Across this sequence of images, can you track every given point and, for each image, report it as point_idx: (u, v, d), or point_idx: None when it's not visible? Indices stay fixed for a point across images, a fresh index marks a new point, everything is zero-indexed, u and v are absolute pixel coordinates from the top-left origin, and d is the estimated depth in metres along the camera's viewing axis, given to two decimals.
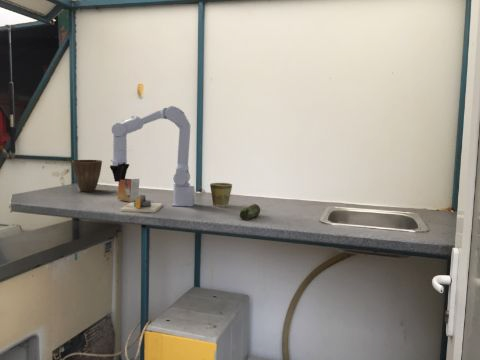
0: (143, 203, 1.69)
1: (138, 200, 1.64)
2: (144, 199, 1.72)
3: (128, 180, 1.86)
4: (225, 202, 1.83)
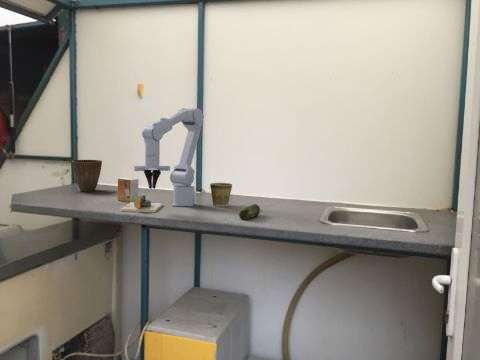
0: (143, 203, 1.69)
1: (138, 200, 1.64)
2: (144, 199, 1.72)
3: (127, 181, 1.85)
4: (225, 202, 1.83)
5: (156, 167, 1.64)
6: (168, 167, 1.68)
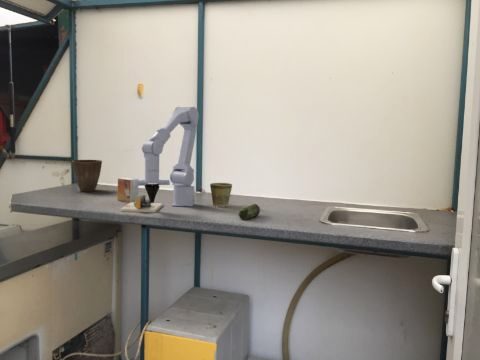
0: (143, 203, 1.69)
1: (138, 200, 1.64)
2: (144, 199, 1.72)
3: (127, 181, 1.85)
4: (225, 202, 1.83)
5: (156, 182, 1.65)
6: (168, 181, 1.69)
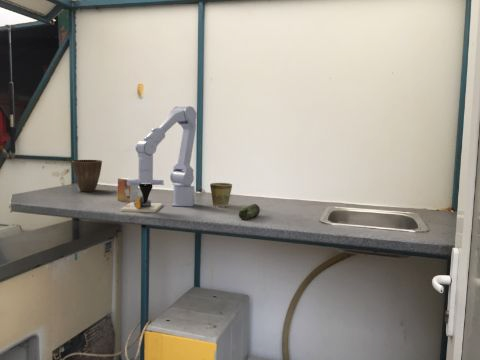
0: (143, 203, 1.69)
1: (138, 200, 1.64)
2: None
3: None
4: (225, 202, 1.83)
5: (148, 181, 1.65)
6: (161, 181, 1.68)
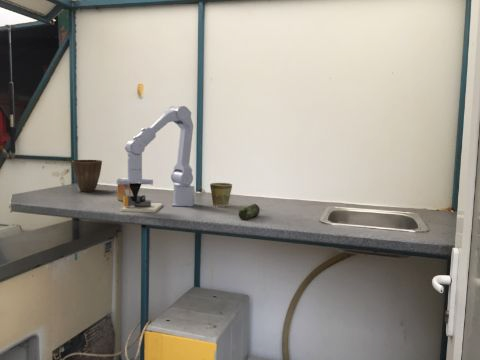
0: (135, 203, 1.70)
1: (124, 198, 1.68)
2: (141, 199, 1.71)
3: None
4: (225, 202, 1.83)
5: (136, 181, 1.65)
6: (150, 181, 1.68)
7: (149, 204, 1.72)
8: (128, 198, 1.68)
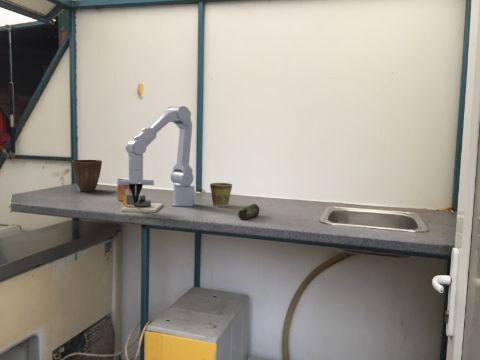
0: None
1: (123, 197, 1.71)
2: (140, 199, 1.71)
3: None
4: (225, 202, 1.83)
5: (138, 181, 1.64)
6: (152, 181, 1.67)
7: (147, 204, 1.70)
8: (127, 197, 1.70)
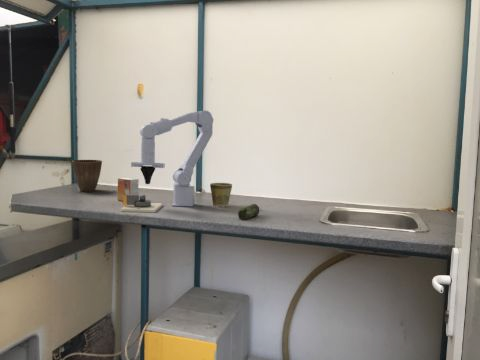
0: (134, 202, 1.71)
1: (123, 197, 1.71)
2: (140, 199, 1.71)
3: (127, 181, 1.85)
4: (225, 202, 1.83)
5: (147, 164, 1.73)
6: (161, 164, 1.74)
7: (147, 204, 1.70)
8: (127, 197, 1.70)
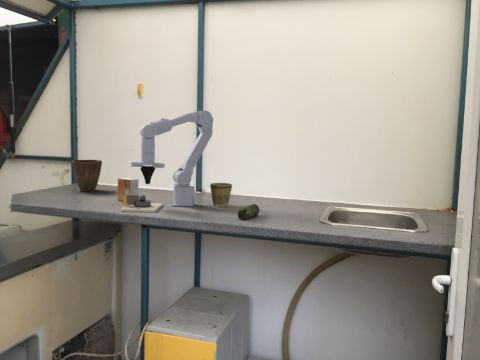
0: (134, 202, 1.71)
1: (123, 197, 1.71)
2: (140, 199, 1.71)
3: (127, 181, 1.85)
4: (225, 202, 1.83)
5: (147, 164, 1.73)
6: (161, 164, 1.74)
7: (147, 204, 1.70)
8: (127, 197, 1.70)
